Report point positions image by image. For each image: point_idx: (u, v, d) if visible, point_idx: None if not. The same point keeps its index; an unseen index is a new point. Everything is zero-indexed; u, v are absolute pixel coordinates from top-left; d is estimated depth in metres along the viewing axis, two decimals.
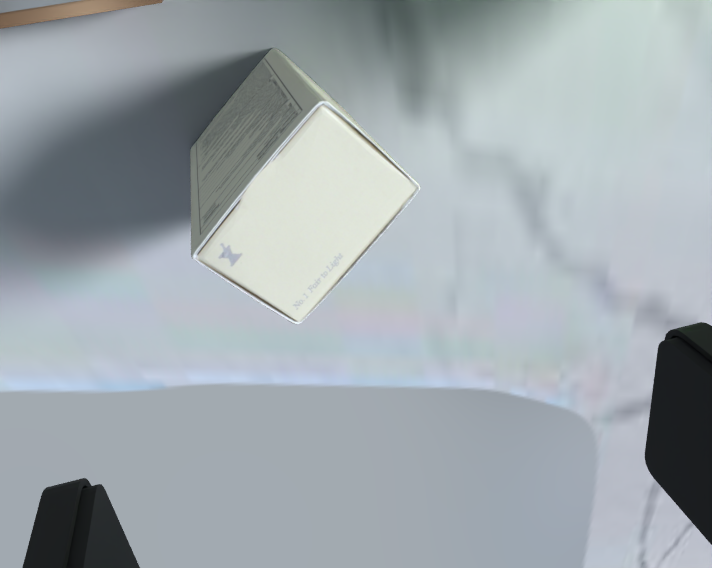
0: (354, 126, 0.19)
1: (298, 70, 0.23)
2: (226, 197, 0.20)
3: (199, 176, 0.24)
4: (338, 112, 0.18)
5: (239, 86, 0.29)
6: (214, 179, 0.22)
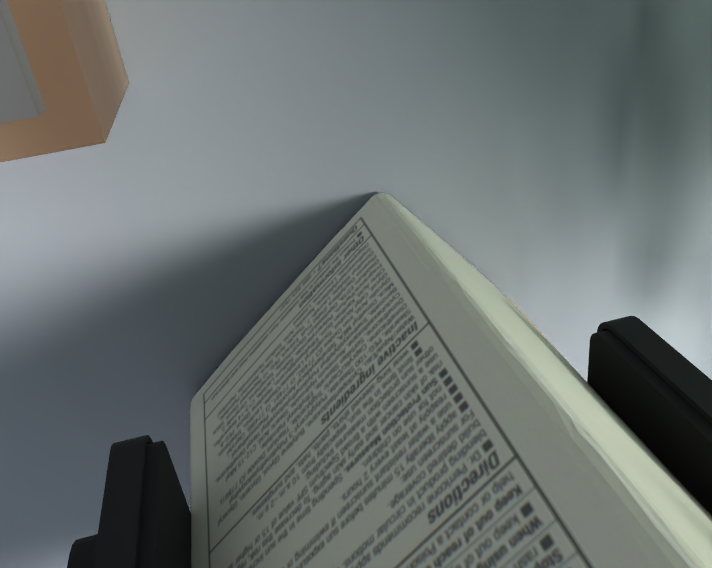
0: None
1: (529, 357, 0.07)
2: None
3: None
4: None
5: None
6: None
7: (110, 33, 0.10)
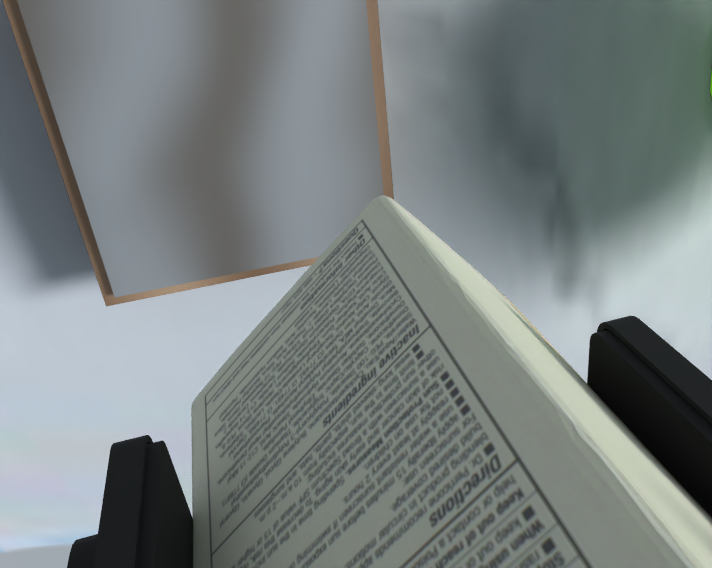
0: None
1: (531, 361, 0.08)
2: None
3: None
4: None
5: (302, 276, 0.13)
6: None
7: None
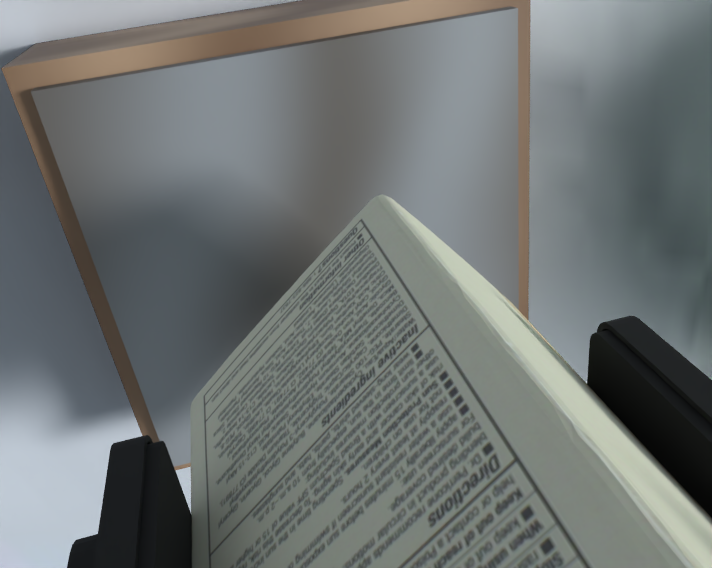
0: None
1: (530, 360, 0.07)
2: None
3: None
4: None
5: (301, 275, 0.13)
6: None
7: None
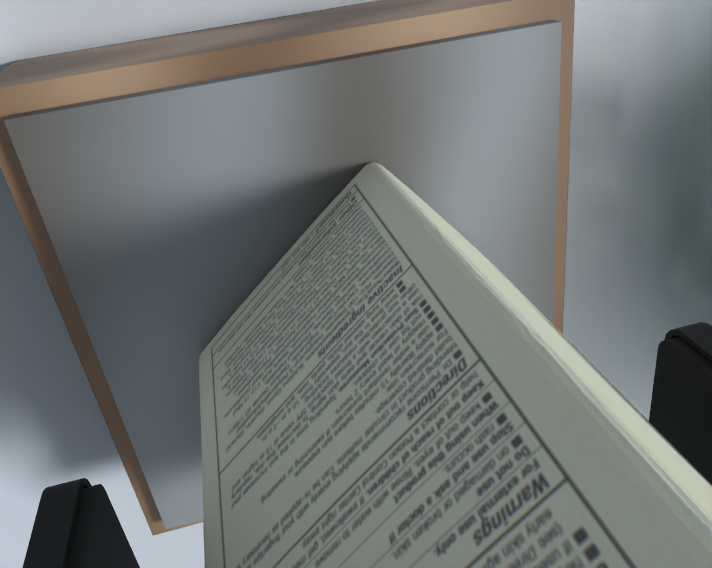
0: None
1: (496, 286, 0.09)
2: None
3: (226, 527, 0.10)
4: None
5: (300, 237, 0.14)
6: None
7: None
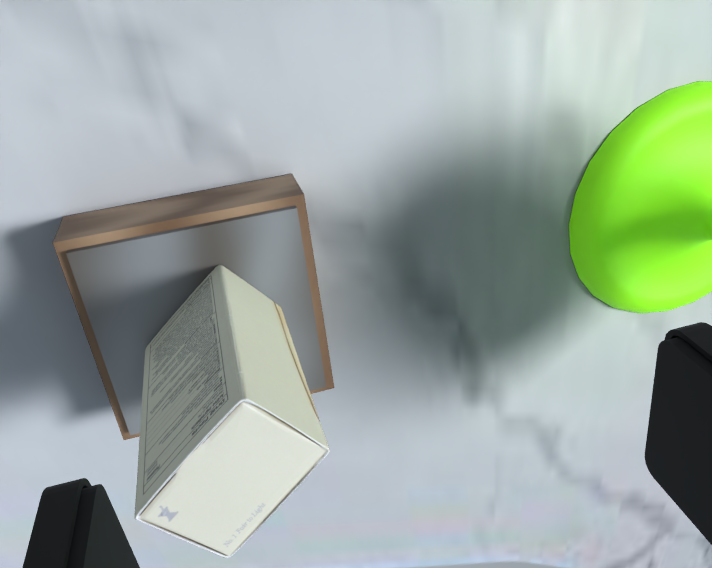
0: (271, 413, 0.23)
1: (234, 319, 0.27)
2: (165, 462, 0.23)
3: (148, 403, 0.28)
4: (256, 405, 0.22)
5: (189, 296, 0.33)
6: (159, 423, 0.26)
7: None
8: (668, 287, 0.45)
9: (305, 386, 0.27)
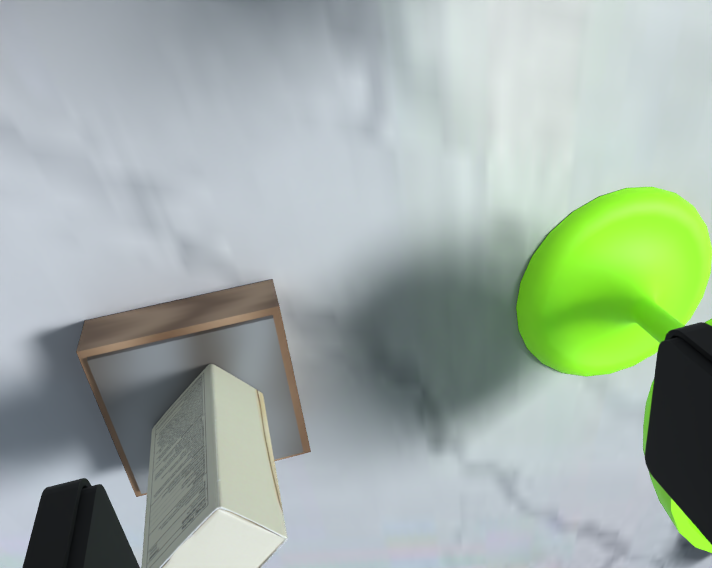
0: (240, 515, 0.30)
1: (218, 424, 0.35)
2: (162, 548, 0.31)
3: (152, 486, 0.36)
4: (229, 511, 0.30)
5: None
6: (159, 509, 0.33)
7: None
8: (607, 356, 0.51)
9: (274, 477, 0.35)
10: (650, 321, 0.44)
